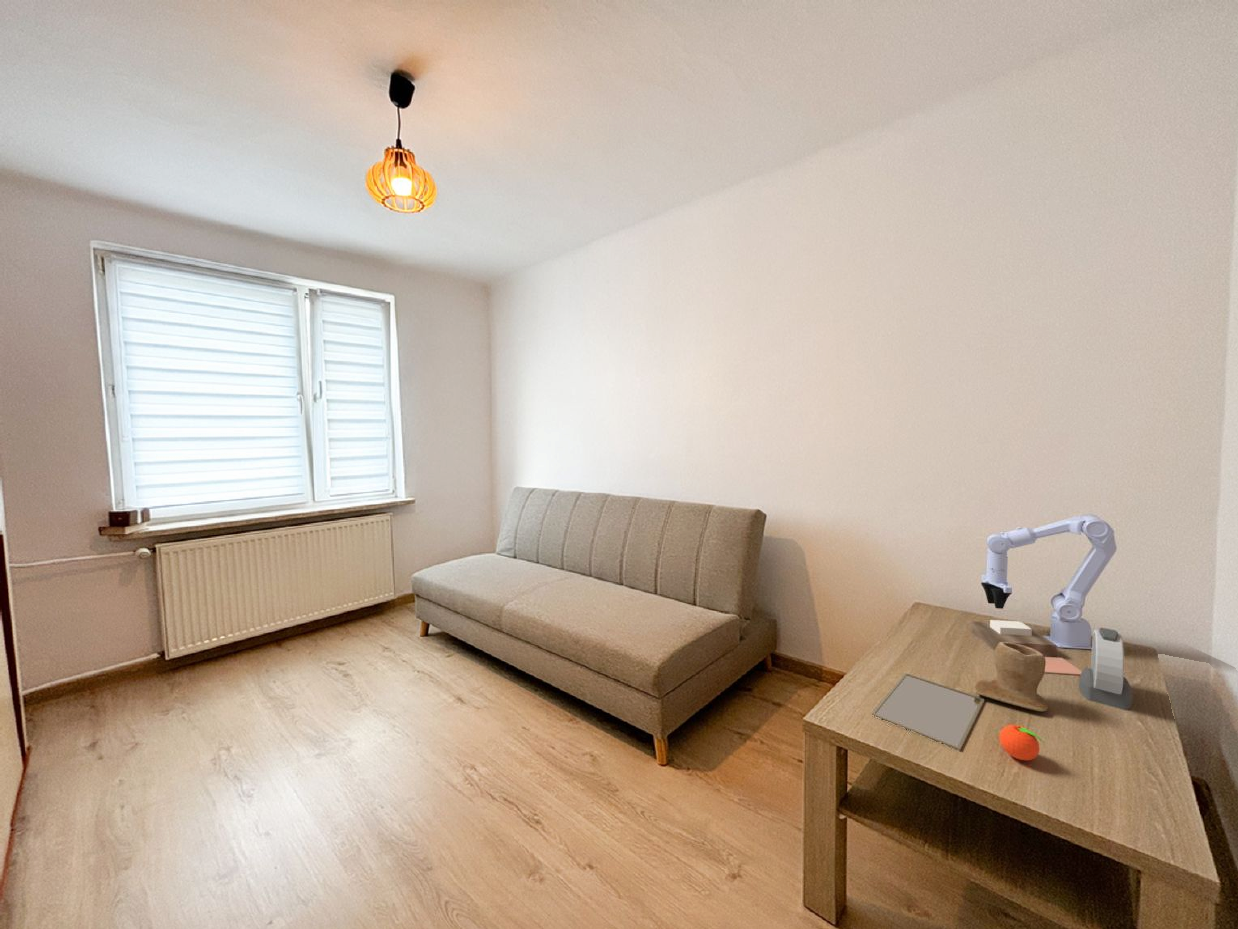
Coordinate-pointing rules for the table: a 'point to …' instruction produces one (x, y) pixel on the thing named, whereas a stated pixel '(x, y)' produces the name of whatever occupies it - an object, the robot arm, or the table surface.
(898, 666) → the table surface
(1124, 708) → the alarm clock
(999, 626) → the tile
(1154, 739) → the table surface
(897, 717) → the picture frame
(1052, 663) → the mat
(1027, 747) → the clementine
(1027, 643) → the plate
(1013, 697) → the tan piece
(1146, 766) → the table surface
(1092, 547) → the robot arm
